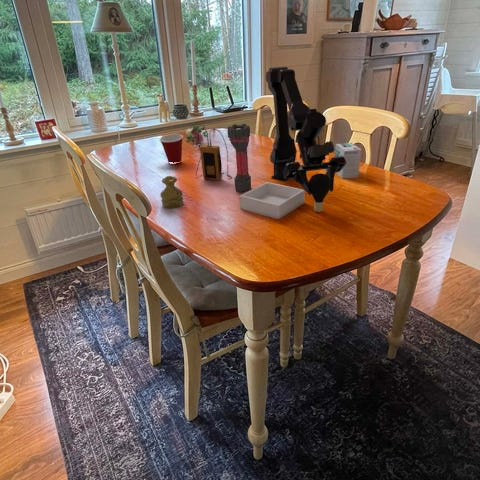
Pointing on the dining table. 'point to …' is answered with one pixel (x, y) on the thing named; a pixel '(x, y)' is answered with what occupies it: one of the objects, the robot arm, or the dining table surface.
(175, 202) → the brown money bag
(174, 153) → the plastic cup
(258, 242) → the dining table surface
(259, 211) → the parts tray
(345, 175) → the light bulb box
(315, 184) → the light bulb
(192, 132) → the flower vase
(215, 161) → the multimeter
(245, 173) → the flashlight
